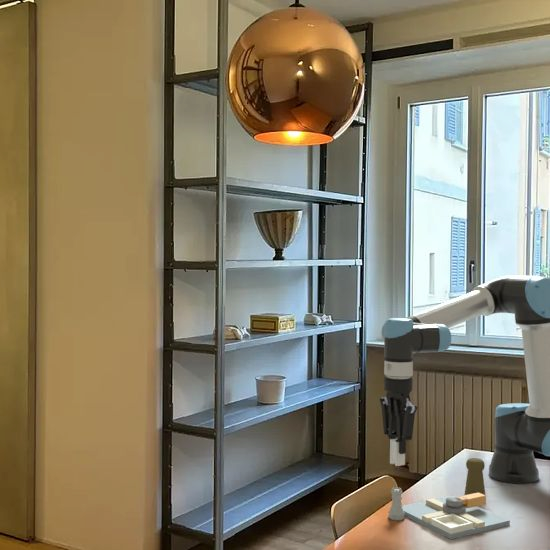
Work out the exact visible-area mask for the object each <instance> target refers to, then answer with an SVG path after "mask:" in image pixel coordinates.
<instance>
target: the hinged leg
mask: <svg viewBox="0 0 550 550" xmlns="http://www.w3.org/2000/svg"><path fill="white" fill-rule="evenodd" d="M486 501H487V494H485V495H483V494H481V493H479V492H478V493H473V494H469V495H461V496H459V497H456V496H454V497H448V498H446V505H447V506H449V507H453V508H459V507H462V506H463V504H464V505H465V506H466V508H471V507H476V506H478V507H480V506H484V505H486V503H487V502H486Z"/></svg>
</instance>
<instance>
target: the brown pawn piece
mask: <svg viewBox="0 0 550 550" xmlns="http://www.w3.org/2000/svg"><path fill="white" fill-rule="evenodd" d="M465 466H466V469H467V474H466V481H465V489H464V495H469V494H473V493H478V492H479V493H481V494H483V495H486V489H485V479H484V472H483V471H484V470H485V462H484V460H483V459H481V458H478V457H471V458H468V459H467V460H466V462H465ZM464 495H463V496H464Z"/></svg>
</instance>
